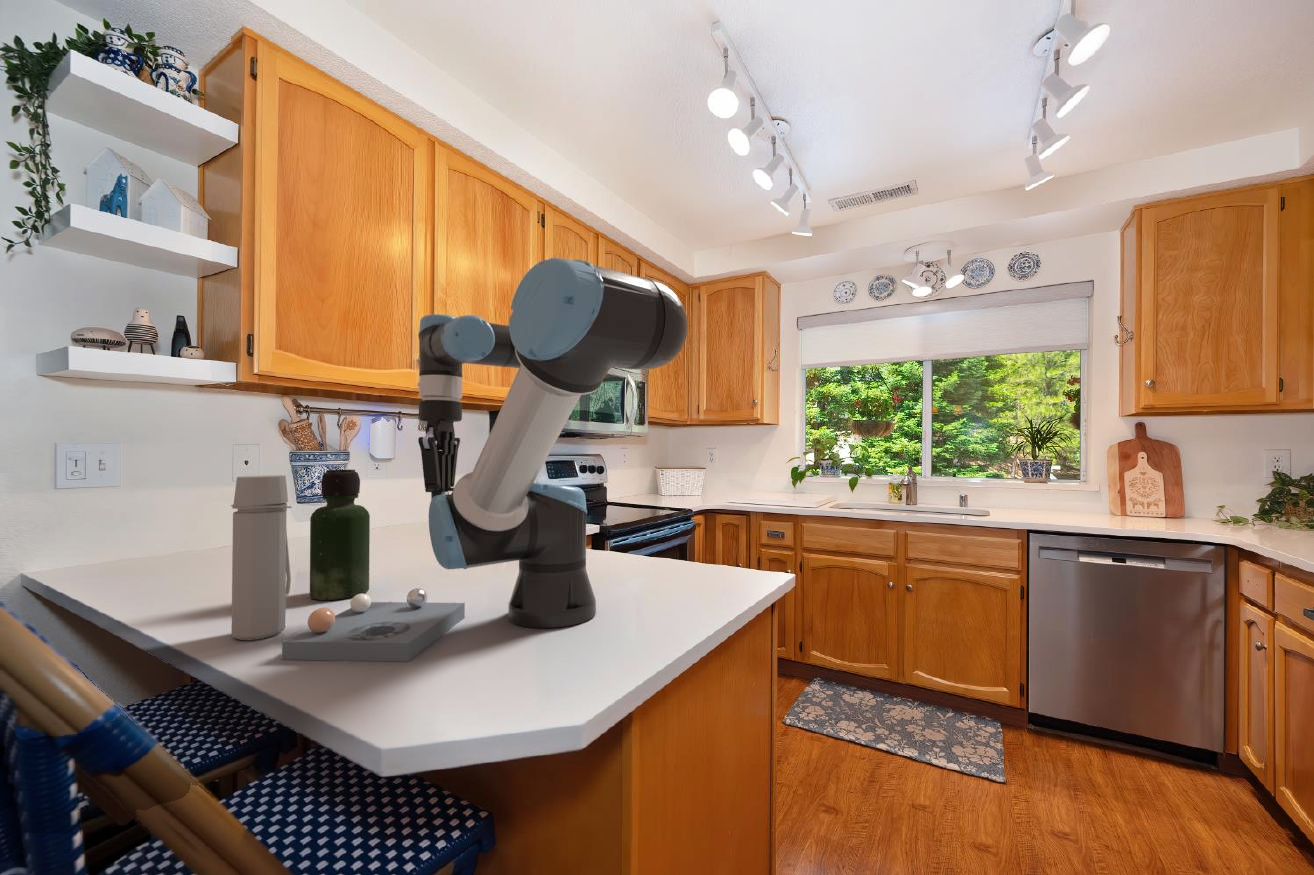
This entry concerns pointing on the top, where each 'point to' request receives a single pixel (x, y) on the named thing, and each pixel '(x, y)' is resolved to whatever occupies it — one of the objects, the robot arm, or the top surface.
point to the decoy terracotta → (321, 620)
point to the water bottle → (260, 557)
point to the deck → (376, 633)
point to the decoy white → (360, 603)
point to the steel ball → (417, 598)
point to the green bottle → (339, 540)
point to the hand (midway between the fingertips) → (439, 527)
